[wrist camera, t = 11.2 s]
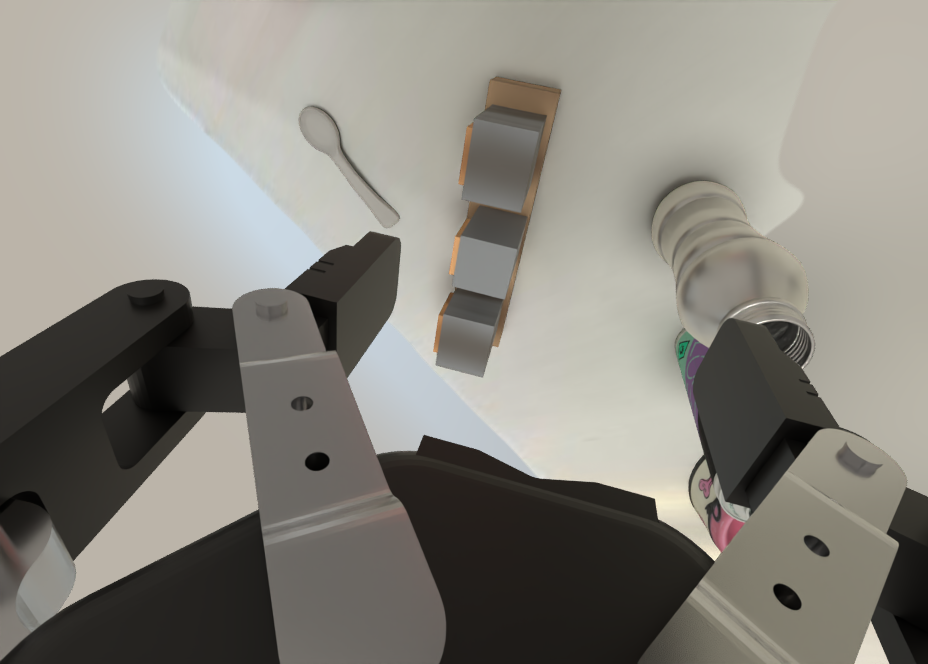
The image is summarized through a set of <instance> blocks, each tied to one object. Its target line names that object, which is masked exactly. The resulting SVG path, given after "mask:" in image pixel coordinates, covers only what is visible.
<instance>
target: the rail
mask: <svg viewBox="0 0 928 664" xmlns="http://www.w3.org/2000/svg"><path fill="white" fill-rule="evenodd" d="M560 93H561V90H560V89H555V88H550V87H545V86H540V85H535V84H530V83H525V82H520V81H515V80H510V79H505V78H500V77H495V78H493V79H491V80H490V82H489V88H488V94H487V100H486V106H485V111H483V112H482V113H481V114H479V115H478V116H477V117H476V118H474V122H473V123H471V124H470V125H469V126H468V127H467V130H466V137H465V143H464V150H463V157H462V163H461V170H460V177H459V183H458V184H460V185H464V186H463V193H462V200H466V201H470V203H469V209H468V215H467V219H471V218H472V217H473V215H474V213H475V212H476V210H477V209H478V207H479V205H481V206H485V207H489V208H493V209H497V210H501V211H506V212H510V213H514V214H518V215H522V216H526V217H528V218H527V222H526V226H525V230H524V234H523V237H522V241H521V245H520V249H519V253H518V257H517V261H516V265H515V268H514V271H513V274H512V278H511V281H510V284H509V288H508V291H507V294H506V298H505V300H504V299H500V298H496V297H492V296H488V295H484V294H481V293H477V292H473V291H469V290H465V289H461V288H457V287H455V292H454V293H452V292H451V293H450V294H449V296H448V298H447V300H446V302H445V304H444V306H443V308H442V310H441V312H440V314H439V317H438V323H437V330H436V337H435V343H434V350H433V352H437V359H436V366H440V367H444V368H448V369H452V370H456V371H459V372H463V373H467V374H471V375H475V376H478V377H482V378H483V375H484V372H485V368H486V365H487V362H488V358H489V355H490V352H491V348H492V346H496V347H498V346H499V342H500V339H501V335H502V332H503V328H504V324H505V319H506V315H507V311H508V307H509V303H510V299H511V295H512V291H513V287H514V282H515V278H516V274H517V270H518V266H519V262H520V258H521V254H522V249H523V245H524V241H525V237H526V233H527V229H528V225H529V221H530V217H531V212H532V208H533V204H534V200H535V196H536V192H537V188H538V184H539V179H540V175H541V171H542V167H543V163H544V159H545V155H546V151H547V146H548V142H549V138H550V134H551V130H552V126H553V122H554V118H555V114H556V109H557V105H558V101H559V97H560Z"/></svg>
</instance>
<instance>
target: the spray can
mask: <svg viewBox="0 0 928 664" xmlns="http://www.w3.org/2000/svg"><path fill="white" fill-rule="evenodd" d="M708 349H709V348H708V347H706V346H705V345H703V344H701V343H700V342H699V341H697V340H696V339H695V338H694V337H693V336H692V335H690V334H689V333H688V332H687V331H686V329H685V328H684V329H683V330H682V331H681V332H680V334H679V335H678V337H677V339H676V342H675V350H676V355H677V359H678V362H679V366H680V369H681V373H682V377H683V380H684V384H685V387H686V391H687V394H688V398H689V402H690V405H691V409H692V412H693V416H694V419H695V423H696V427H697V430H698V434H699V437H700V441H701V444H702V448H703V451H704V455H705V459H706V462H707V466H708V469H709V473H710V476H711V480H712V484H713V487H714V491H715V494H716V496H717V498H718V500H719V502H720V504H721V506H722V508H723V510H724V511H725V512H726V513H727V514H728V515H730V516H731V517H732V518H734V519H736V520H738V521H741V522H744V523H745V522H746V521H747V520H748V518H749V517H750V516H751V515H752V510H751V509H750V508H746V507H743V506H739V505H735V504H732V503H728V502H725V500H724V496H723V493H722V490H721V486H720V483H719V479H718V476H717V473H716V469H715V466H714V463H713V459H712V456H711V453H710V449H709V446H708V442H707V439H706V436H705V432H704V429H703V426H702V422H701V419H700V416H699V412H698V409H697V405H696V402H695V399H694V395H693V382H694V377H695V374H696V372H697V369H698V368H699V366H700V364H701V362H702V360H703V358H704V356H705V355H706V353H707V351H708Z"/></svg>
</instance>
